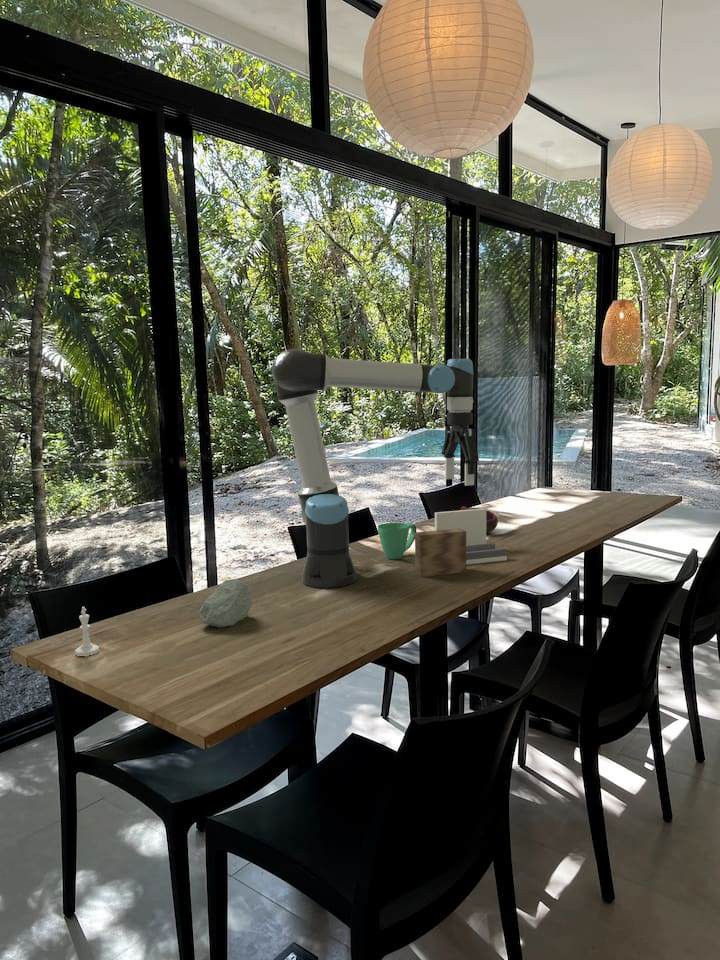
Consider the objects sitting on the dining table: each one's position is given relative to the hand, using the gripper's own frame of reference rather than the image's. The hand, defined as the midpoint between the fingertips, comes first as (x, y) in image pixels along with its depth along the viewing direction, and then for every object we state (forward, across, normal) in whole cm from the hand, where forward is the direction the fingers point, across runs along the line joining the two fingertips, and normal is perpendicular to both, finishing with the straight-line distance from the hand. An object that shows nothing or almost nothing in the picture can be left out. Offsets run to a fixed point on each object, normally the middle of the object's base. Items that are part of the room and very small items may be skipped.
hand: (459, 482), depth 215 cm
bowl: (+24, +31, -21) cm, 44 cm away
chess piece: (+26, -37, +105) cm, 114 cm away
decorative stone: (+25, -29, +75) cm, 84 cm away
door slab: (+24, -11, +11) cm, 29 cm away
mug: (+24, +11, +15) cm, 31 cm away
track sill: (+24, +1, -4) cm, 24 cm away
